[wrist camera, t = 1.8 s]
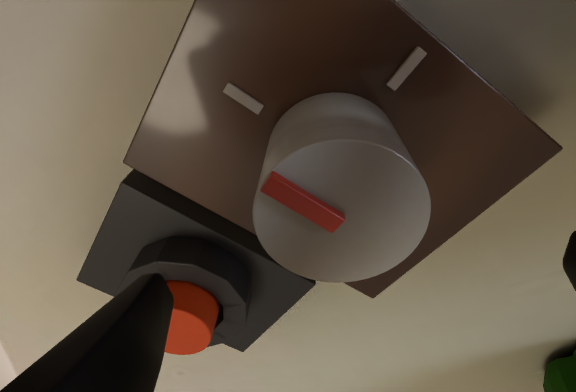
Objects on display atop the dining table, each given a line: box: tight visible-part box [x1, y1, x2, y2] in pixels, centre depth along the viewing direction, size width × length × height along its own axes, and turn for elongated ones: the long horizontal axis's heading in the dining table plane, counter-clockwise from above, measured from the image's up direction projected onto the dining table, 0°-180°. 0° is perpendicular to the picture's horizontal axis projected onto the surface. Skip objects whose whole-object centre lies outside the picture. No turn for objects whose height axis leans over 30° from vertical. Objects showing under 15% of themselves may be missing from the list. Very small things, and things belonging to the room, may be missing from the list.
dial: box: [252, 92, 431, 283], centre depth 11 cm, size 5×5×4 cm
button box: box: [77, 169, 316, 352], centre depth 19 cm, size 11×8×4 cm
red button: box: [164, 280, 219, 355], centre depth 17 cm, size 4×4×2 cm
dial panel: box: [123, 0, 563, 298], centre depth 14 cm, size 13×10×3 cm
